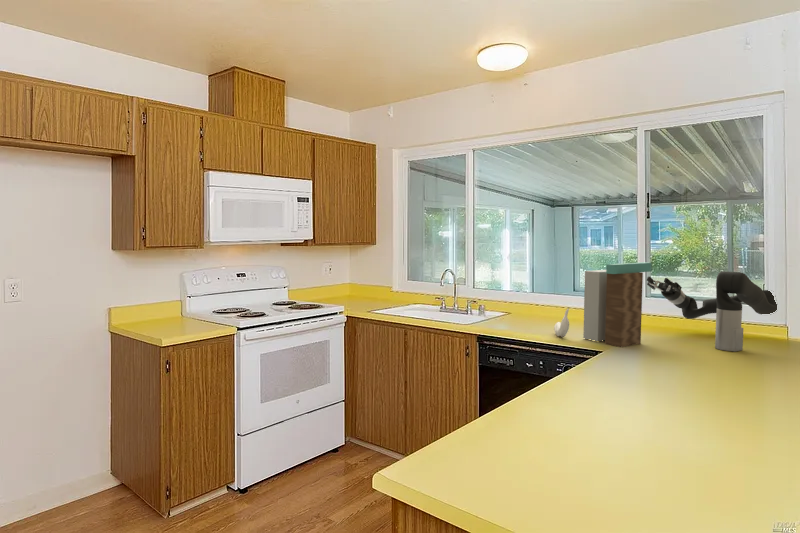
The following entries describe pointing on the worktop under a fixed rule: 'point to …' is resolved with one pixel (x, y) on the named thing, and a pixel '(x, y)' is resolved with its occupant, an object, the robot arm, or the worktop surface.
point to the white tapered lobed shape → (562, 326)
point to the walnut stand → (623, 309)
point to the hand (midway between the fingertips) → (656, 278)
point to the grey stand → (595, 305)
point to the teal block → (628, 268)
